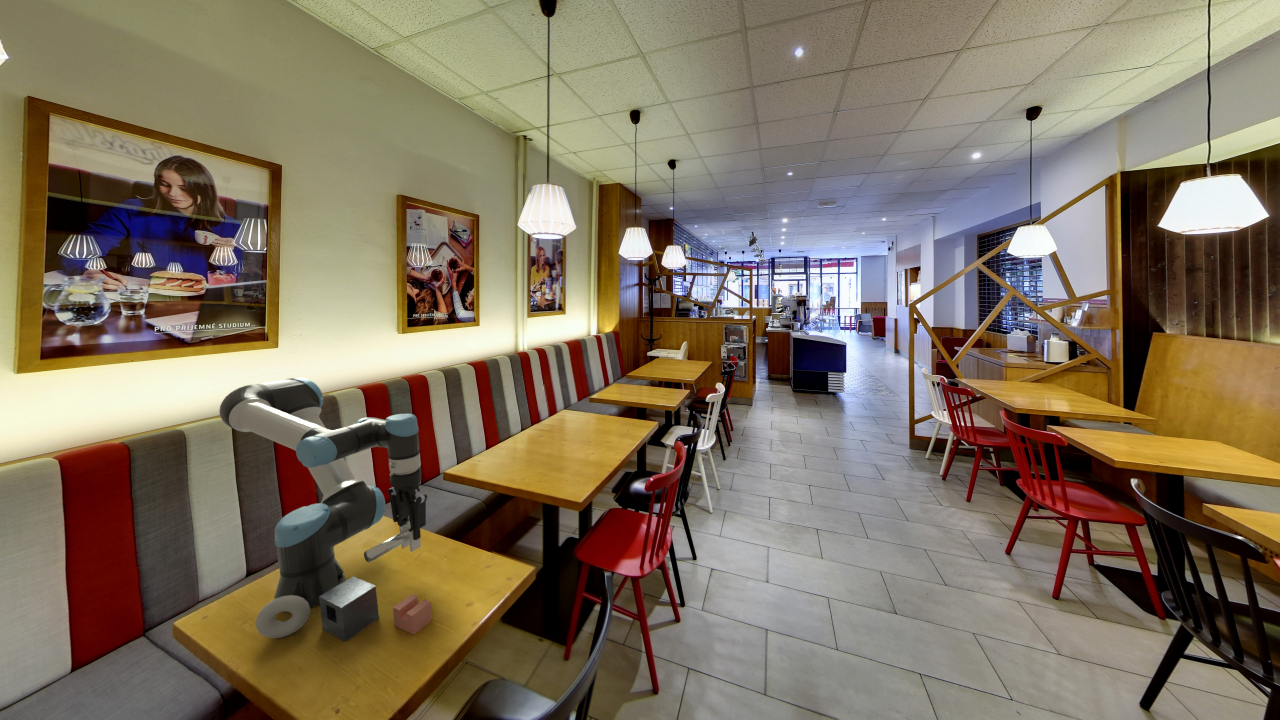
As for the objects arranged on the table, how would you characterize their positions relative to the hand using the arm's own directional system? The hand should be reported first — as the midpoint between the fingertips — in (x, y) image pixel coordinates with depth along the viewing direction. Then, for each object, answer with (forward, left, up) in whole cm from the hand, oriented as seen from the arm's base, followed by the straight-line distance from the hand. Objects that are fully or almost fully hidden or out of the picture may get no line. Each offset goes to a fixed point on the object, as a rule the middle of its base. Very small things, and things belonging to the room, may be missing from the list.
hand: (411, 547), depth 115 cm
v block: (+15, -11, -10) cm, 21 cm away
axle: (0, -5, +4) cm, 6 cm away
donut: (-10, -26, -10) cm, 30 cm away
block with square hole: (+1, -17, -10) cm, 20 cm away
